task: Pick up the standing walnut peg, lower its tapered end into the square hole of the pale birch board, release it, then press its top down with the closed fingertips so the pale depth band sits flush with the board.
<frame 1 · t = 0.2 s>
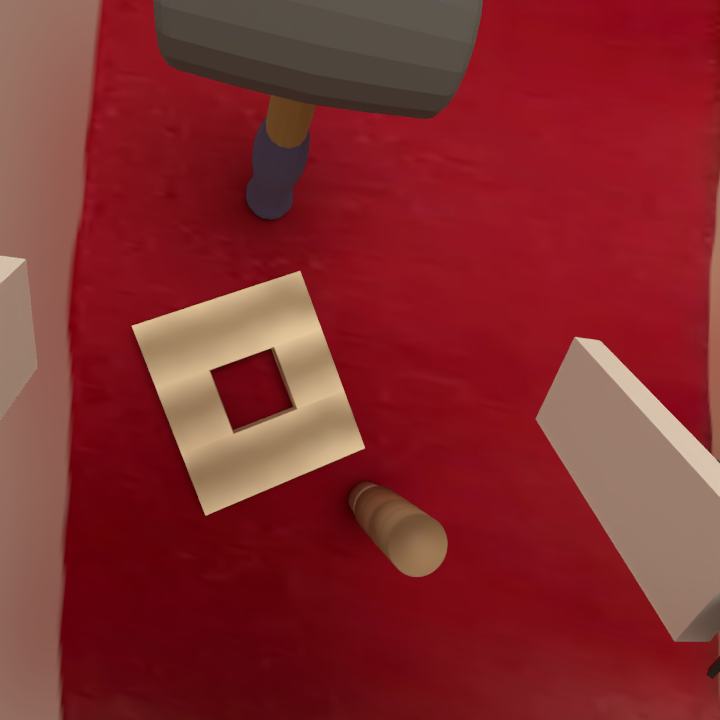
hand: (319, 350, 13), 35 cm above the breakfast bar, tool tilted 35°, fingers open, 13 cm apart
board: (252, 389, 47), on the breakfast bar
peg: (365, 498, 49), on the breakfast bar
rubber mallet: (267, 202, 48), on the breakfast bar
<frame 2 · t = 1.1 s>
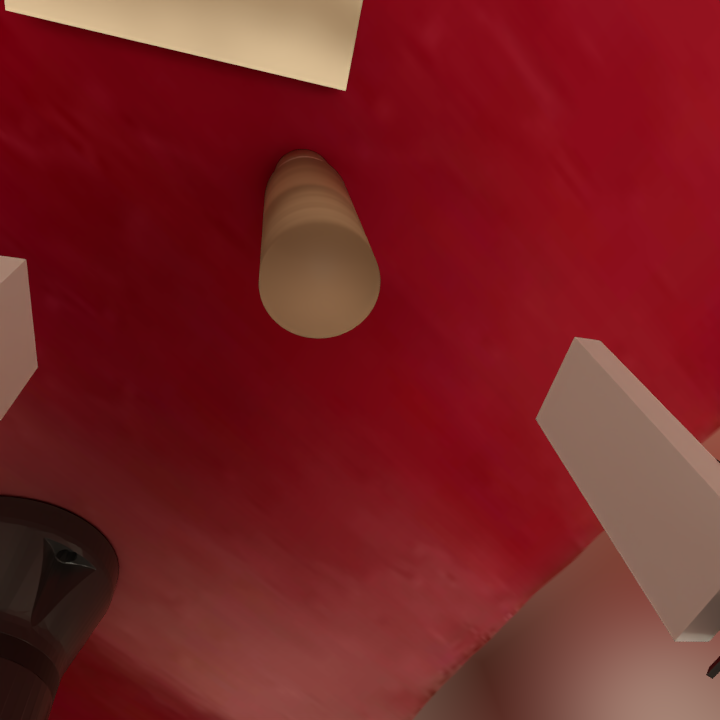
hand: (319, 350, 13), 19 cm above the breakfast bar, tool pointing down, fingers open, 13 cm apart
peg: (303, 180, 30), on the breakfast bar
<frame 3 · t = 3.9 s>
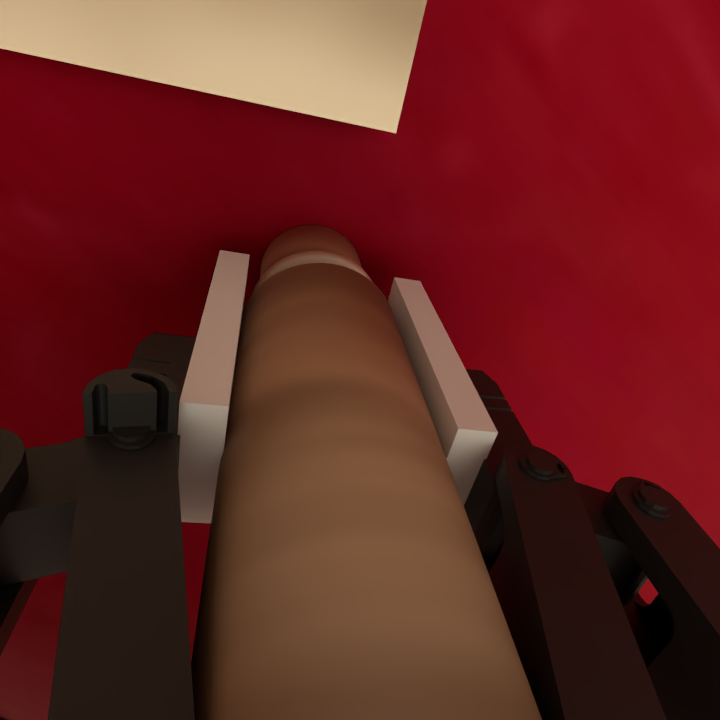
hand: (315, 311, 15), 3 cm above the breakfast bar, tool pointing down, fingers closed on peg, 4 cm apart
peg: (311, 273, 17), on the breakfast bar, touching gripper
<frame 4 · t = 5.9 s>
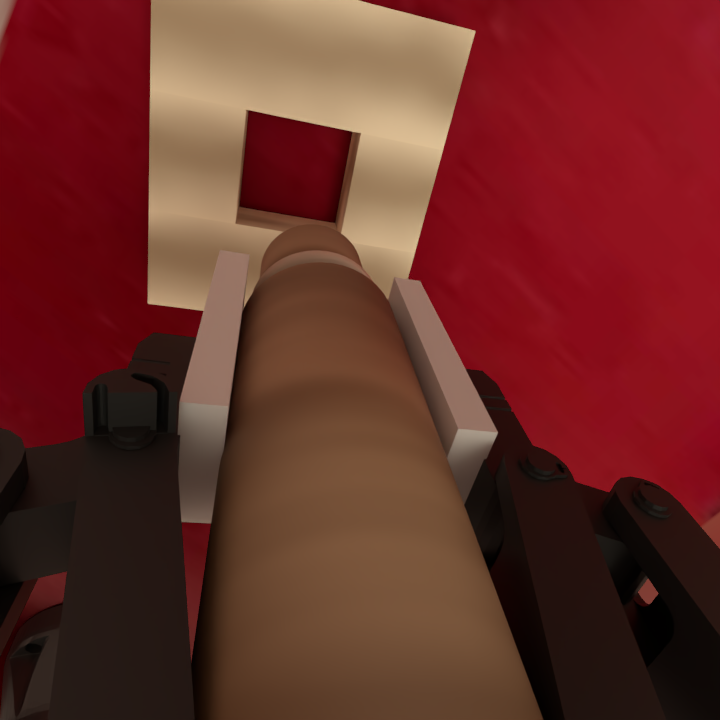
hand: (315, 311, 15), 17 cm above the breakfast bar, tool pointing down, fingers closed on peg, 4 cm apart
board: (295, 166, 30), on the breakfast bar
peg: (311, 273, 17), point 15 cm above the breakfast bar, touching gripper
when the fingers open (5 cm above the breakfast bar, at t = 8.0 s): peg drops 1 cm, resting in board.
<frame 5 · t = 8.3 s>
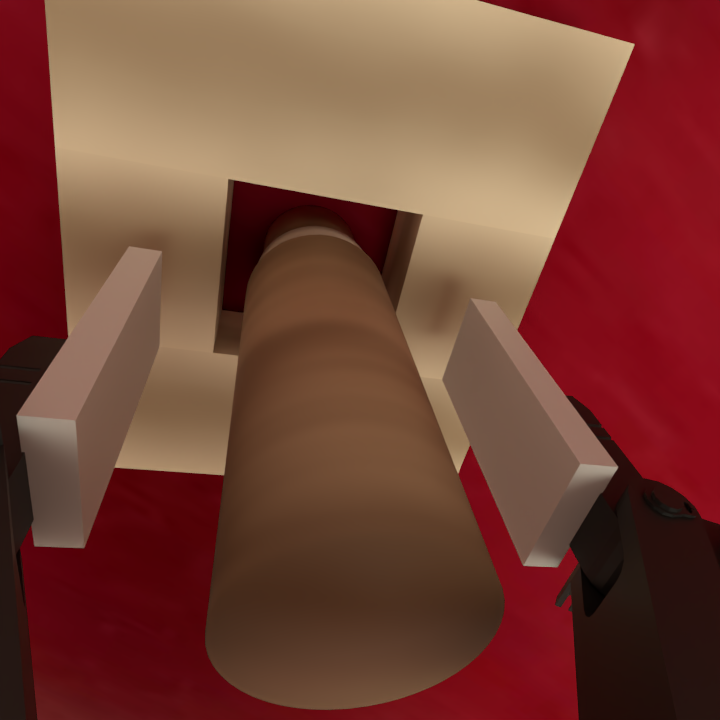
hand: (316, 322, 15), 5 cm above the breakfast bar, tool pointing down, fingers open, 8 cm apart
board: (308, 251, 19), on the breakfast bar
peg: (309, 250, 19), resting in board
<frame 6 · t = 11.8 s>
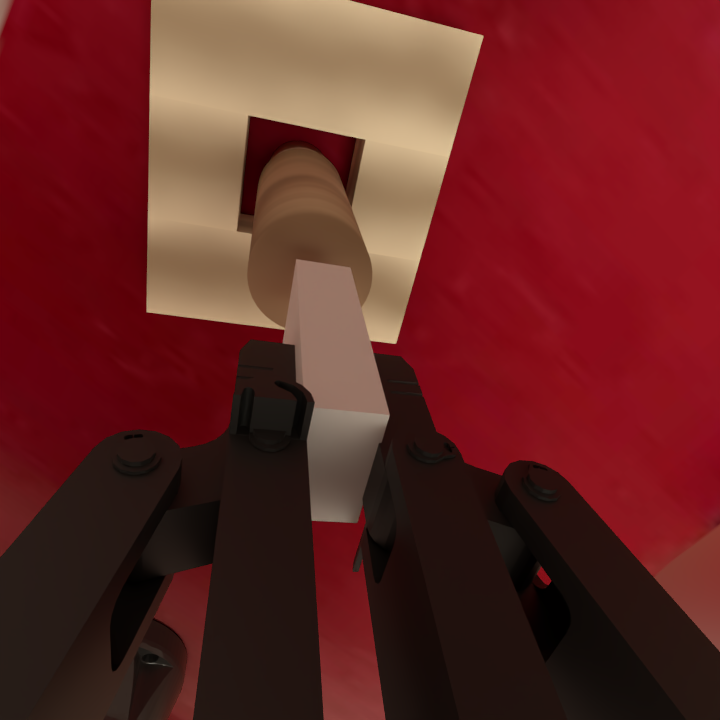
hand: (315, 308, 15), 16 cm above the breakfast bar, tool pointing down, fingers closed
board: (297, 172, 29), on the breakfast bar
peg: (298, 172, 29), resting in board
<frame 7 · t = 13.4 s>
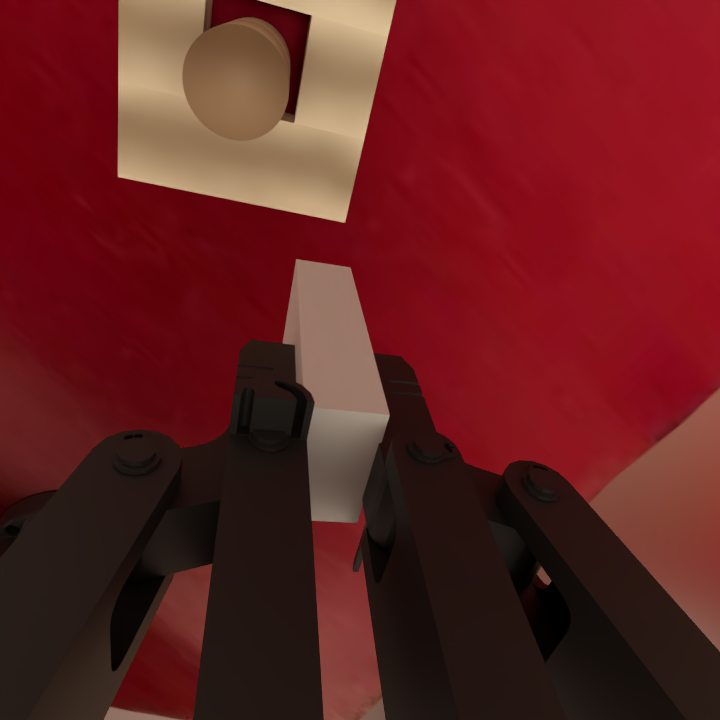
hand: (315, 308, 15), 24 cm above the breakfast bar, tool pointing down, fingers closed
board: (256, 54, 32), on the breakfast bar
peg: (257, 54, 32), resting in board
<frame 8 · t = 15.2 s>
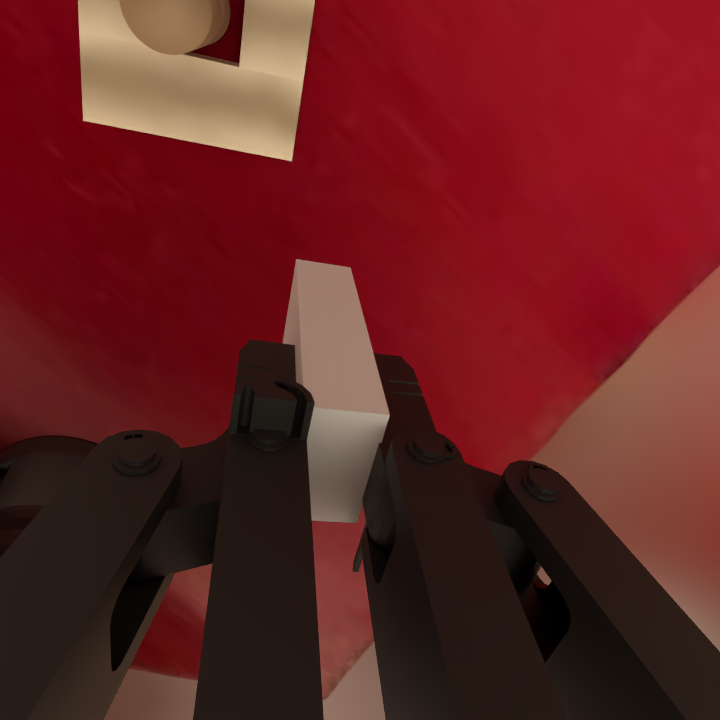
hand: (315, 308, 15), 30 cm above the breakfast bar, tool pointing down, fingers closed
board: (204, 8, 36), on the breakfast bar
peg: (204, 8, 36), resting in board
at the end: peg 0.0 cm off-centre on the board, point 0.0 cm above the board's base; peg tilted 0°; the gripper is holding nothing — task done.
